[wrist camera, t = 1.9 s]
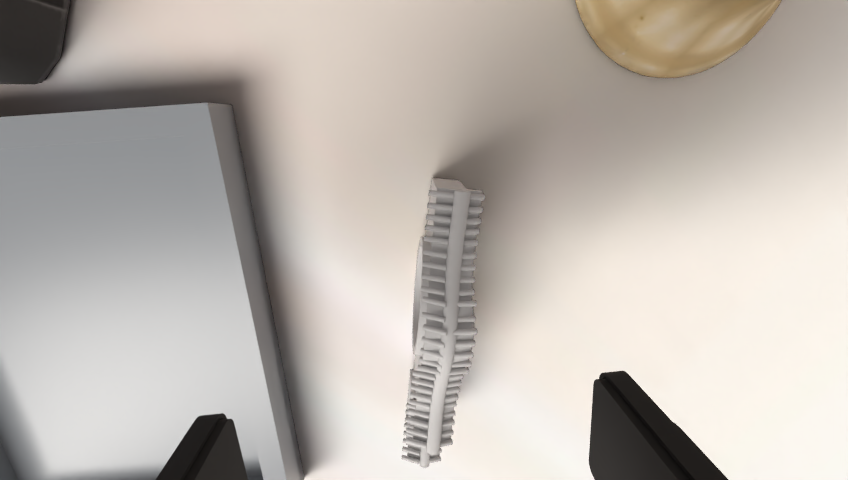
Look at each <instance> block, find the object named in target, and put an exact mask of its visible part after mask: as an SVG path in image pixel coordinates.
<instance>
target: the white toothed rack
mask: <svg viewBox="0 0 848 480" xmlns="http://www.w3.org/2000/svg"><path fill="white" fill-rule="evenodd" d="M429 196H430V200H429V202H428V205H427V208H429V210H428V214H427V216H426V219H427V220H428V221H427V225H426V226H425V230H427V232H426V236H425V237H421V239H420V243H419V248H418V256H417V265H416V276H415V288H414V304H413V331H412V346H413V354H414V355H415V360H414V369H410V378H409V389H408V400H407V404H406V407H407V409H406V418H405V422H406V423H405V425H404V427H406V431H404V434H403V435H406V438H404V439H403V443H406V445H408V448H407V447H404V446H403V448H402V451H405V452H408V453H407V456H405V455H402V460H406V461H409V462H412V463H416V464H419V463H420V466H421V467H423V468H426V467H428V466H429V463H433V462H438V461H441V457H439V454H440V453H441V452H442V450H441V448H440V447H443V446H448V445H452V444H453V442H452V439H451V435H453V430H452V425H454V420H453V416H455V411H454V407H456V405H457V404H456V401H455V400H458V395H457V394H456V392H460V388H459V387H458V386H461V380H460V379H462V378H463V374H466V373H469V369H468V367H471V361H469V358H473V352H471V350H472V347H474V346H475V341H474V340H473V338H474V334H477V329H476V328H474V322H475V316H474V314H473V307H475V306H476V305H477V302H476V301H472V295H474V293H475V292H474V289H472V283H474V282H475V278H474V277H473V270H475V269H476V266H475V265H474V263H473V260H474V259H476V257H477V254H476V253H474V249H475V246H477V245H478V240H476V234H479V229H477V225H478V224H481V218H479V214H480V213H482V212H483V207H481V201H484V200H485V195H484V194H483V191H482V190H472V189H467V188H466V187H465V186H464V185H463V184H462V183H461V182H460V181H459V180H453V179H441V178H431V189H430V190H429ZM465 367H467V368H465Z"/></svg>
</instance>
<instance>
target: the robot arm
mask: <svg viewBox="0 0 848 480" xmlns="http://www.w3.org/2000/svg"><path fill="white" fill-rule="evenodd" d="M589 465H590V469H591V472H592V475H593V477H594V479H595V480H728V479H727V478H726V477H725V476H724V475H723V473H722V472H721V471H720V470H719V469H718V468H717V467H716V466H715V465H714V464H713V463H712V462H711V461H710V459H709V458H708V457H707V456H706V455H705V454H704V453H703V452H702V451H701V450H700V449H699V448H698V447H697V446H696V444H695V443H694V442H693V441H692V440H691V439H690V438H689V437H688V436H687V435H686V434H685V433H684V432H683V431H682V429H681V428H680V427H678V426H677V425H676V424H675V423H673V422H672V421H671V420H670V419H669V418H668V417H667V416H666V414H665V413H664V412H663V411H662V410H661V409H660V408H659V407H658V406H657V405H656V404H655V403H654V402H653V400H652V399H651V398H650V397H649V396H648V395H647V394H646V393H645V392H644V391H643V390H642V389H641V387H640V386H639V385H638V384H637V383H636V382H635V381H634V380H633V379H632V378H631V377H630V376H629V375H628V374H627V373H626V372H625V371H617V372H607V373H602V374H601V375H600V377H599V379H596V380H595V381H594V387H593V403H592V419H591V435H590V452H589ZM156 480H248V477H247V473H246V469H245V465H244V461H243V457H242V453H241V449H240V445H239V441H238V437H237V433H236V429H235V425H234V421H233V420H232V419H227V417H226V415H225V414H223V413H220V414H211V415H201V416H199V417H197V418H196V419H195V421H194V422H193V424H192V425H191V427H190V428H189V430H188V431H187V433H186V434H185V436H184V437H183V439H182V440H181V442H180V443H179V445H178V446H177V448H176V449H175V451H174V452H173V454H172V455H171V457H170V458H169V460H168V462H167V463H166V465H165V466H164V468H163V469H162V471H161V472H160V474H159V475H158V477H157V478H156Z"/></svg>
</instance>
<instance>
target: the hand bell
mask: <svg viewBox="0 0 848 480" xmlns="http://www.w3.org/2000/svg"><path fill="white" fill-rule="evenodd" d="M575 1H576V5H577V8H578V11H579V14H580V17H581V19H582V22H583V24H584V25H585V27H586V29H587V31H588V33H589V35H590V36H591V37H592V39H593V40H594V41H595V43H596V44H597V46H598V47H599V48H600V49H601V50H602V51H603V52H604V53H605V54H606V55H607V56H608V57H609V58H611V59H612V60H614V61H615V62H616V63H617V64H619V65H620V66H622V67H624V68H626V69H628V70H630V71H633V72H635V73H638V74H641V75H644V76H649V77H658V78H676V77H683V76H688V75H692V74H696V73H699V72H702V71H705V70H707V69H709V68H712V67H714V66H716V65H717V64H719V63H721V62H723V61H724V60H726V59H728V58H729V57H730V56H732V55H733V54H735V53H736V52H737V51H739V50H740V49H741V48H742V47H743V46H744V45H746V44H747V43H748V42H749V41H750V40H751V39H752V38H753V37H754V36H755V35H756V34H757V33H758V32H759V31H760V29H761V28H762V27H763V26H764V25H765V24H766V22H767V21H768V20H769V19H770V18H771V16H772V15H773V13H774V12H775V10H776V9H777V7H778V6H779V4H780V3H781V1H782V0H575Z"/></svg>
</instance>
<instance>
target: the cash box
mask: <svg viewBox="0 0 848 480" xmlns="http://www.w3.org/2000/svg"><path fill="white" fill-rule="evenodd" d="M69 6H70V0H0V84H37V83H41V82H43V81H44V79H45V78H46V77H47V75H48V74H49V72H50V71H51V70H52V68H53V67H54V66H55V64H56V63H57V62H58V60H59V59H60V57H61V52H62V46H63V40H64V34H65V28H66V22H67V16H68V11H69Z"/></svg>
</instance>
